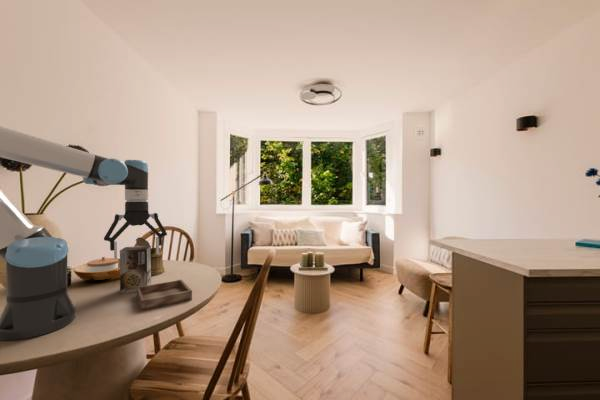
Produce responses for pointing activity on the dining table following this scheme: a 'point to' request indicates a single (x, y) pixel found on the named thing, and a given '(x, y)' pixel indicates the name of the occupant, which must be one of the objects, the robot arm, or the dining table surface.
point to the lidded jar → (102, 264)
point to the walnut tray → (163, 294)
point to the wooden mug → (153, 257)
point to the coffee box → (135, 268)
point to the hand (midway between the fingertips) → (137, 256)
